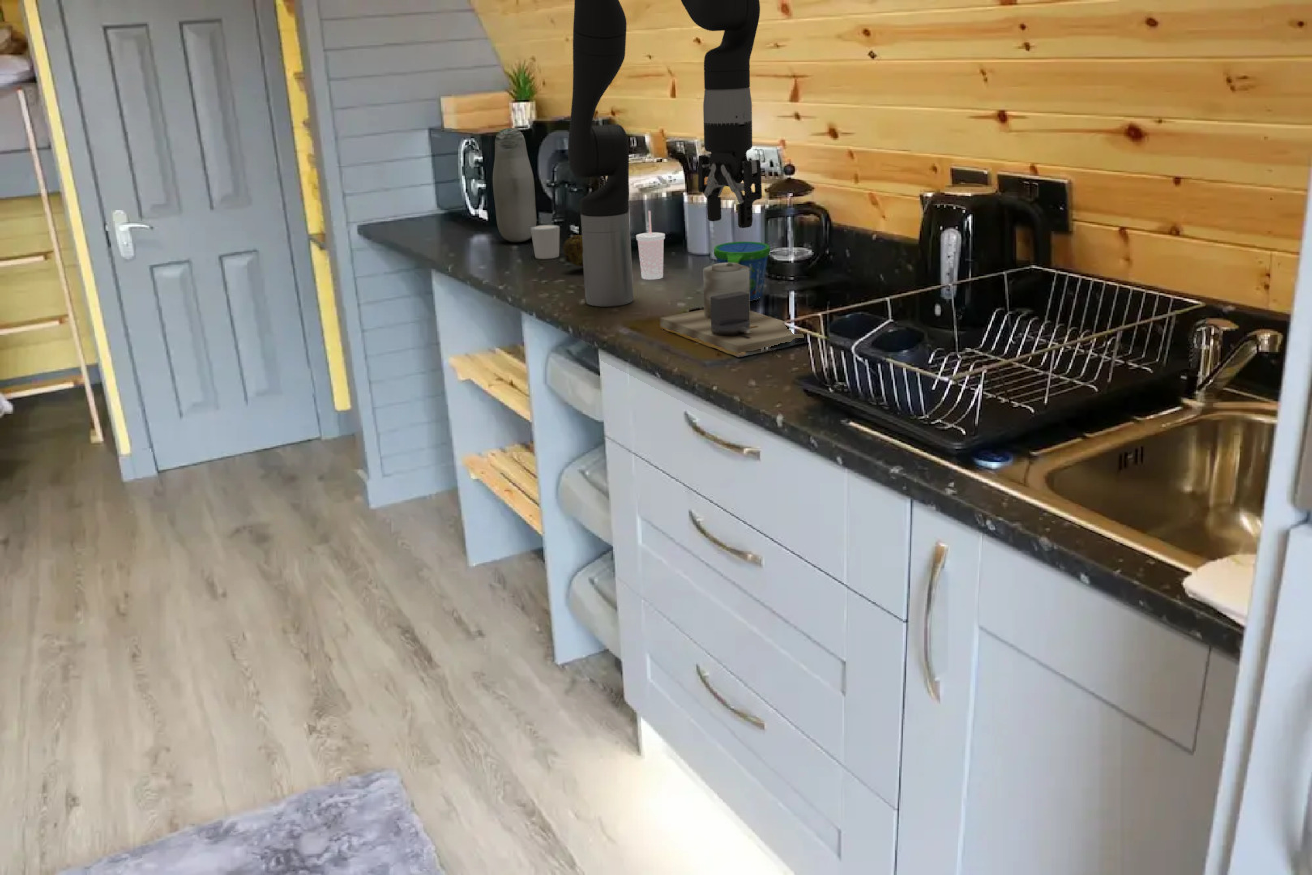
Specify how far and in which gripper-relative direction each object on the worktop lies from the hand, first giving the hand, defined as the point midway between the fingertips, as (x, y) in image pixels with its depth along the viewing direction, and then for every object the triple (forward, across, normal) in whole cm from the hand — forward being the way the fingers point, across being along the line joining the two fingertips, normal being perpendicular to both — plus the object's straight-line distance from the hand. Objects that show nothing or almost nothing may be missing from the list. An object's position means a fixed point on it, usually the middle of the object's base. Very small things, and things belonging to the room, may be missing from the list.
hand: (729, 224), depth 178 cm
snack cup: (+20, -25, +20) cm, 38 cm away
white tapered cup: (+20, -91, +10) cm, 94 cm away
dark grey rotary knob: (+18, +1, 0) cm, 18 cm away
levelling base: (+20, -4, +3) cm, 20 cm away
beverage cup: (+20, -54, +17) cm, 60 cm away
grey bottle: (+20, -114, +13) cm, 116 cm away
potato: (+20, -70, +11) cm, 74 cm away
